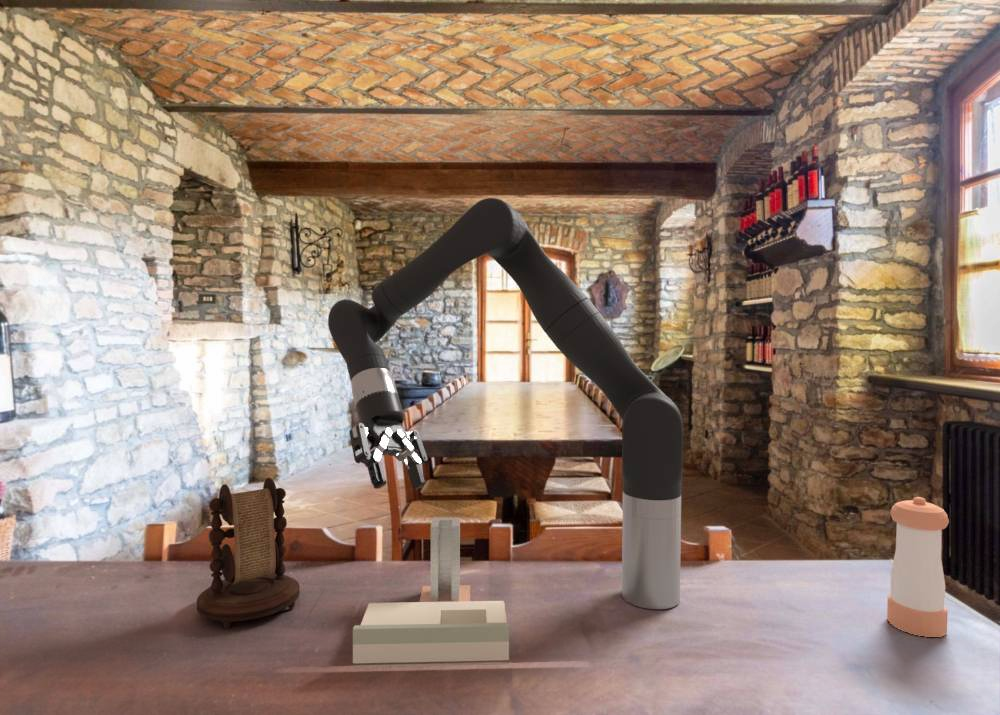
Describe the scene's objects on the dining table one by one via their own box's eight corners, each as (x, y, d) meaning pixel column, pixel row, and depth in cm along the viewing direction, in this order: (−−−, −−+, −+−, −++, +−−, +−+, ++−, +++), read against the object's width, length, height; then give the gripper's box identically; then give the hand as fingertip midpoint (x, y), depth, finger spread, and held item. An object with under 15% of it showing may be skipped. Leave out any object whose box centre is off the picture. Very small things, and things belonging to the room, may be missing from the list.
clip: (432, 590, 98) (432, 518, 98) (459, 589, 98) (459, 517, 98) (430, 602, 94) (430, 526, 93) (459, 601, 94) (459, 526, 93)
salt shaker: (939, 620, 89) (943, 494, 89) (953, 642, 83) (956, 506, 82) (883, 611, 92) (886, 489, 92) (891, 631, 86) (894, 500, 85)
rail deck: (369, 622, 88) (369, 589, 88) (503, 620, 89) (504, 587, 89) (352, 667, 76) (352, 629, 76) (508, 664, 77) (509, 626, 77)
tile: (422, 589, 100) (422, 585, 100) (470, 588, 100) (470, 585, 100) (418, 611, 92) (418, 607, 92) (470, 610, 92) (470, 606, 92)
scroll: (213, 642, 82) (211, 499, 82) (185, 606, 93) (183, 479, 93) (315, 610, 92) (314, 482, 91) (279, 581, 103) (278, 466, 102)
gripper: (358, 383, 96) (383, 476, 88) (420, 395, 107) (446, 478, 100) (330, 405, 99) (351, 497, 92) (392, 414, 110) (415, 496, 103)
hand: (400, 487), depth 96 cm, fingers open, 8 cm apart
